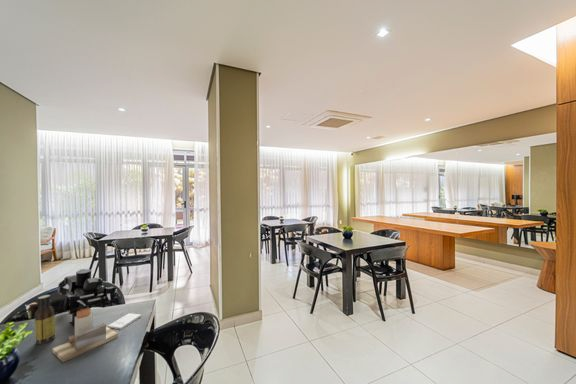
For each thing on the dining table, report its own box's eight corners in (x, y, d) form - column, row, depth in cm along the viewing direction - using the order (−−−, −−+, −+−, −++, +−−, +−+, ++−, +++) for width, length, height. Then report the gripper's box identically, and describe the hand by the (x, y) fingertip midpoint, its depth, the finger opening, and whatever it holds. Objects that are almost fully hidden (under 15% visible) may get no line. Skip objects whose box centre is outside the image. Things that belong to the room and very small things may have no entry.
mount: (52, 352, 98) (52, 333, 98) (106, 329, 114) (106, 313, 114) (62, 362, 91) (62, 343, 92) (118, 336, 108) (118, 320, 108)
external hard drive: (141, 317, 126) (120, 330, 114) (128, 316, 127) (106, 328, 115) (141, 314, 126) (120, 327, 114) (128, 313, 127) (106, 325, 115)
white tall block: (74, 339, 104) (74, 311, 104) (88, 333, 108) (88, 306, 108) (78, 342, 101) (78, 313, 101) (92, 336, 105) (92, 309, 106)
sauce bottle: (57, 334, 110) (57, 292, 110) (51, 342, 104) (51, 297, 104) (38, 338, 107) (38, 295, 107) (31, 346, 101) (31, 300, 101)
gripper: (62, 280, 107) (74, 291, 99) (110, 272, 123) (123, 281, 115) (58, 305, 107) (70, 318, 99) (106, 294, 123) (120, 304, 114)
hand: (98, 304), depth 107 cm, fingers open, 9 cm apart
